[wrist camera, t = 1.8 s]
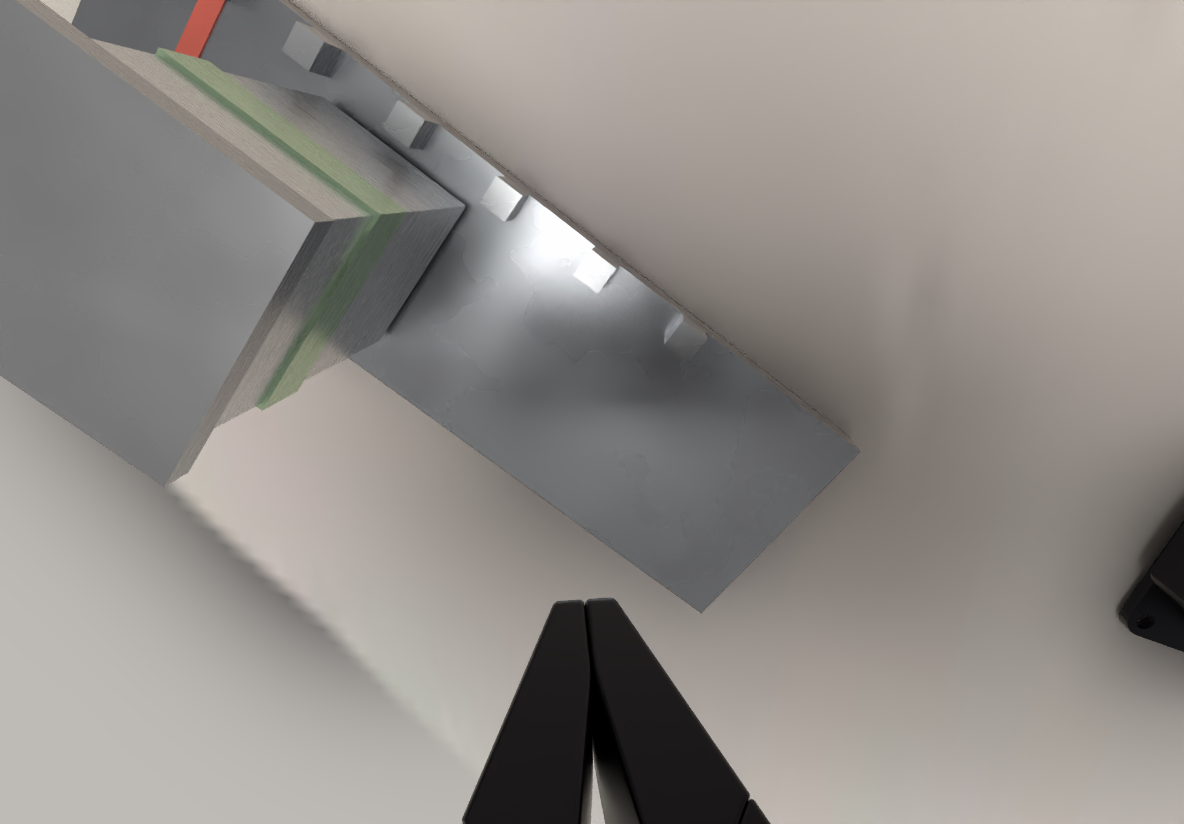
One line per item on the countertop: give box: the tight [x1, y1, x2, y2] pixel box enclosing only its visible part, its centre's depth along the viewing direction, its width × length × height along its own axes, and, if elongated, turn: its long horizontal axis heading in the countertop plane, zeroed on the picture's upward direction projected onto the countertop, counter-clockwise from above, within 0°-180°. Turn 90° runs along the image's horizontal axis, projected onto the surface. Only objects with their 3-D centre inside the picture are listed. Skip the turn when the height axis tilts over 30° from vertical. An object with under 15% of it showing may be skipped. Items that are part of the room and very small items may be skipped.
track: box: [72, 0, 860, 613], centre depth 19 cm, size 24×7×4 cm, turn 53°
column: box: [0, 0, 466, 487], centre depth 15 cm, size 5×5×9 cm
